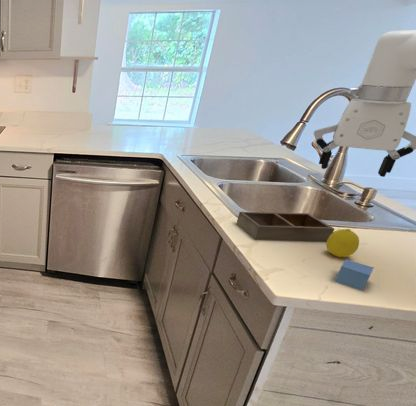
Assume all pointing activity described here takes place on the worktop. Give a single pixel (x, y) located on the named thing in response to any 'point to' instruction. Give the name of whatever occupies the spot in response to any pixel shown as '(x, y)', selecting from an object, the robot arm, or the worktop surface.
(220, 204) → the worktop surface
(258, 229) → the tray
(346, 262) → the blue block
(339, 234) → the lemon
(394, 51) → the robot arm
